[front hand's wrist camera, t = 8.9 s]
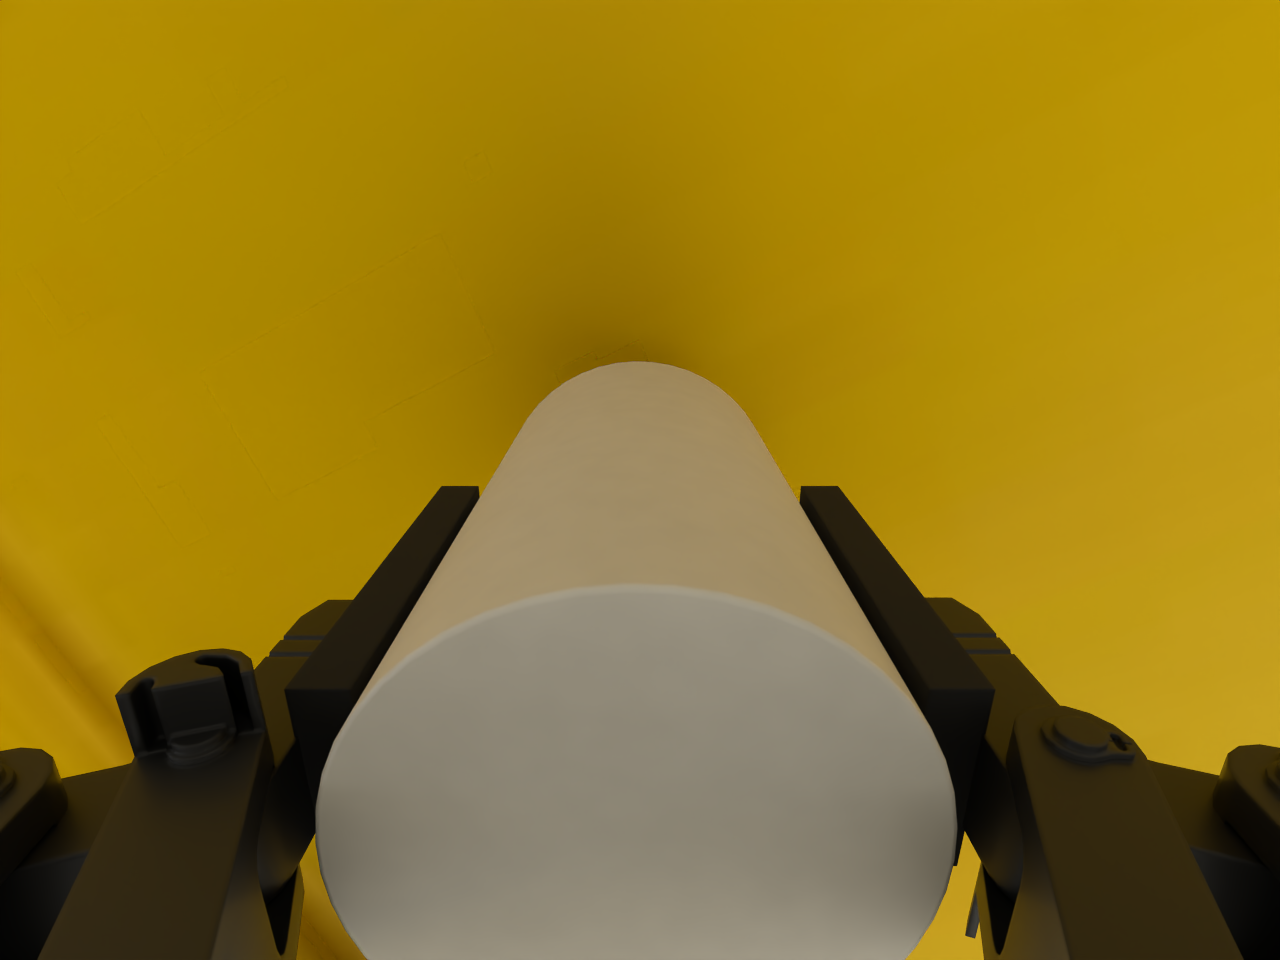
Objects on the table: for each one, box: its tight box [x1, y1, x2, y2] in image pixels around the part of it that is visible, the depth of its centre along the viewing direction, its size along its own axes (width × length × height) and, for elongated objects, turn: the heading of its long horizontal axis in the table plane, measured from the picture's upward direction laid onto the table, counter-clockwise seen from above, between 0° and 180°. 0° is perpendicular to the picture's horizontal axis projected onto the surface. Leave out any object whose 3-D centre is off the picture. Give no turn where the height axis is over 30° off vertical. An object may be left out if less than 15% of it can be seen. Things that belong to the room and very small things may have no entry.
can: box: [315, 361, 957, 960], centre depth 12 cm, size 7×7×11 cm
